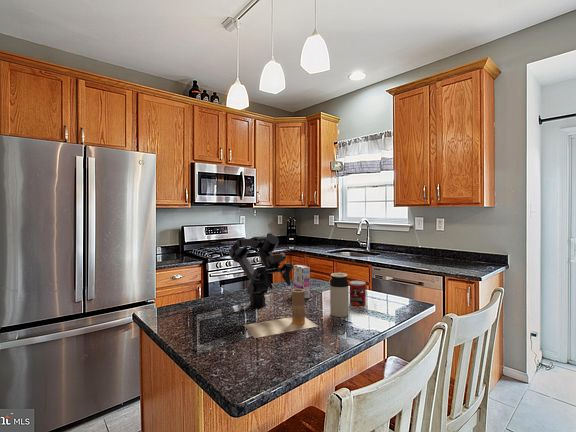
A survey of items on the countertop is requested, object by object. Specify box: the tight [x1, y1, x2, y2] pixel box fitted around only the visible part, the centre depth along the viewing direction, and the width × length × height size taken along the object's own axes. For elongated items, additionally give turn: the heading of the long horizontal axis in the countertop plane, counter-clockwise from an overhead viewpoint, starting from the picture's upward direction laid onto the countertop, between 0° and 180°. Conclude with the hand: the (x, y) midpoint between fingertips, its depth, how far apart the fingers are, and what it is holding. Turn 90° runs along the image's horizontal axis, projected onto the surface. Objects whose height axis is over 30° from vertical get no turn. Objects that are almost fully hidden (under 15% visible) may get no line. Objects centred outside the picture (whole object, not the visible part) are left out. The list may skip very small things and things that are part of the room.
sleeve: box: [291, 288, 306, 325], centre depth 127 cm, size 5×5×13 cm
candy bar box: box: [293, 264, 311, 299], centre depth 171 cm, size 11×5×16 cm, turn 25°
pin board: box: [243, 316, 319, 339], centre depth 124 cm, size 26×14×5 cm, turn 114°
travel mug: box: [329, 272, 350, 318], centre depth 140 cm, size 8×8×18 cm
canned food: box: [349, 280, 367, 308], centre depth 155 cm, size 8×8×11 cm
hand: (281, 286), depth 137 cm, fingers open, 9 cm apart
